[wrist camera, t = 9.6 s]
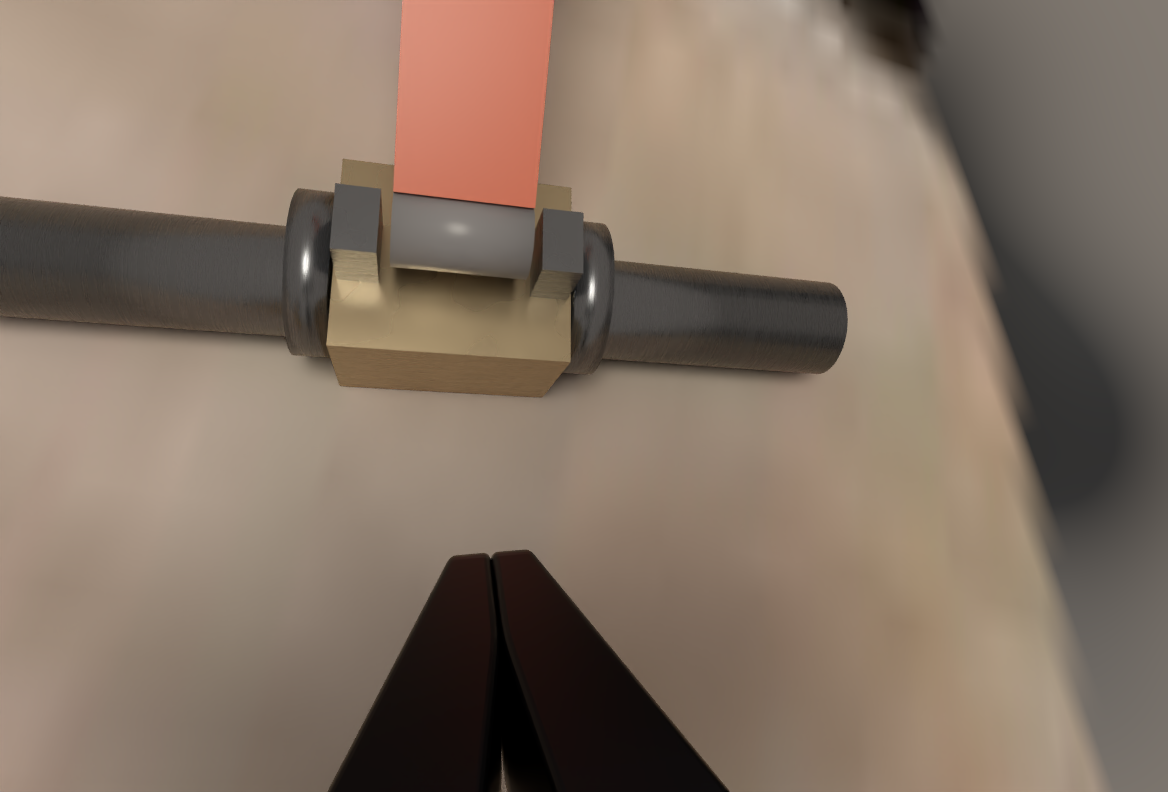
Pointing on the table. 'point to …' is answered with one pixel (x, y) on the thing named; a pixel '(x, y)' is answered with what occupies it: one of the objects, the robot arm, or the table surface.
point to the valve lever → (469, 135)
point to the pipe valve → (407, 293)
